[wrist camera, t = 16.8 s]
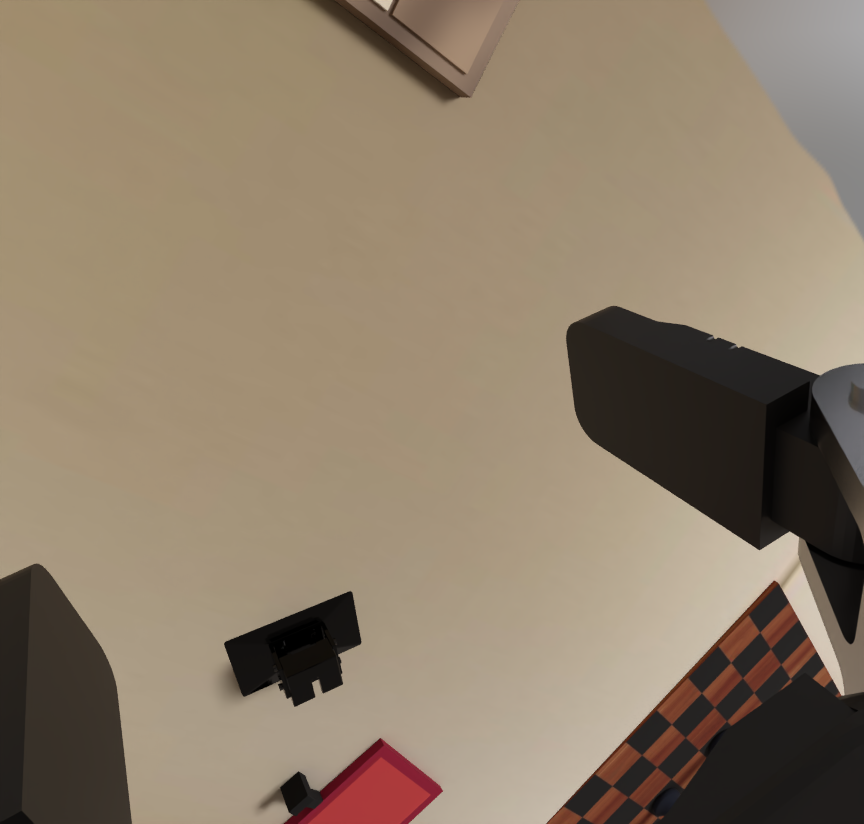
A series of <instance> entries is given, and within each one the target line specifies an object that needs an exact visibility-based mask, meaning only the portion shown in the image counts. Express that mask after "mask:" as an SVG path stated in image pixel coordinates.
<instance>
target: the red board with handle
mask: <svg viewBox="0 0 864 824" xmlns="http://www.w3.org/2000/svg"><path fill="white" fill-rule="evenodd" d="M280 788H281V791H282V794H283V797H284V800H285V803H286V805H287V808H288V811H289V813H291V814H292V815H293V816H292V817H291V818H290V819H289V820H288V821H286V822H285V823H284V824H408V823H409V822H411V821H412V820H413V819H414V818H415V817H416V816H417V815H418V814H419V813H420V812H421V811H422V810H423V809H424V808H425V807H427V806H428V805H429V804H430V803H431V802H432V801H433V800H434V799H435V798H436V797H437V796H438V795H439V794H440V793H441V792H443V790H442V789H441V787H440V786H439V785H438V784H437V783H436V782H434V781H433V780H432V779H431V778H429V777H428V776H427V775H426V774H424V773H423V772H422V771H421V770H419V769H418V768H417V767H416V766H414V765H413V764H412V763H411V762H410V761H408V760H407V759H406V758H405V757H403V756H402V755H401V754H400V753H398V752H397V751H396V750H395V749H393V748H392V747H391V746H390V745H388V744H387V743H386V742H385V741H383V740H382V739H381V738H380V739H379V740H378V741H377V742H375V743H374V744H373V745H372V746H371V747H370V748H369V749H368V750H366V751H365V752H364V753H363V754H362V755H361V756H360V757H359V758H357V759H356V760H355V761H354V762H353V763H352V764H351V765H350V766H348V767H347V768H346V769H345V770H344V771H343V772H342V773H341V774H339V775H338V776H337V777H336V778H335V779H334V780H333V781H332V782H330V783H329V784H328V785H327V786H326V787H325V788H324V789H323V790H321V791H320V792H319V791H317V790H313V789H310V787H309V784H308V782H307V779H306V776H305V775H303V774H302V773H300V772H297V773H296V774H295V775H294V776H293V777H292V778H291V779H289V780H288V781H287V782H286V783H285V784H284V785H283V786H282V787H280Z"/></svg>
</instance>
